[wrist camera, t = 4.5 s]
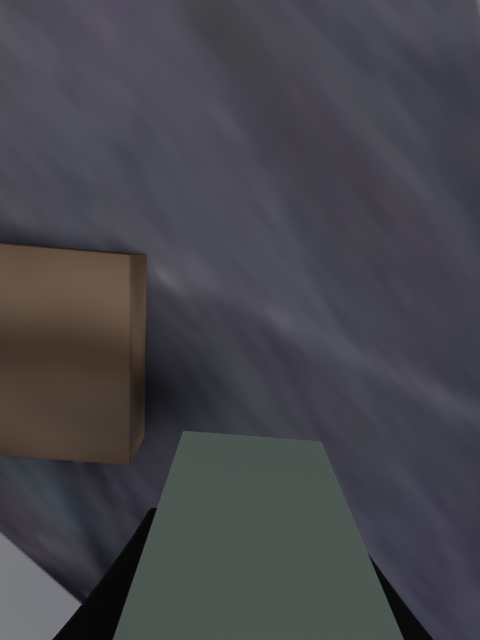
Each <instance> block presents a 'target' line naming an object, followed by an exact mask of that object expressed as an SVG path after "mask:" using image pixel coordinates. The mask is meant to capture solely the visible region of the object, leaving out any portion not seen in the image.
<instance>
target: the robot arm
mask: <svg viewBox="0 0 480 640" xmlns="http://www.w3.org/2000/svg"><path fill="white" fill-rule="evenodd" d="M156 510H157V508H151V509H150V510H149V511H148V512H147V514H146V516H145V518H144V519H143V521H142V522H141V524H140V526H139V527H138V529H137V530H136V532H135V533H134V535H133V536H132V538H131V539H130V541H129V542H128V544H127V545H126V546H125V548H124V549H123V551H122V552H121V554H120V555H119V556H118V558H117V559H116V560H115V562H114V563H113V565H112V566H111V567H110V569H109V570H108V571H107V573H106V574H105V576H104V577H103V578H102V579H101V581H100V582H99V583H98V585H97V586H96V587H95V588H94V590H93V591H92V592H91V593H90V595H89V596H88V597H87V598H86V600H85V601H84V602H83V604H82V605H81V606H80V607H79V609H78V610H77V611H76V612H75V614H74V615H73V616H72V617H71V618H70V620H69V621H68V622H67V623H66V624H65V626H64V627H63V628H62V629H61V630H60V631H59V633H58V634H57V635H56V636H55V637H54V639H52V640H113V638H114V635H115V632H116V629H117V626H118V623H119V620H120V617H121V614H122V611H123V608H124V605H125V602H126V599H127V596H128V593H129V590H130V588H131V585H132V582H133V579H134V576H135V573H136V570H137V567H138V564H139V561H140V558H141V555H142V552H143V549H144V546H145V543H146V540H147V537H148V534H149V531H150V528H151V525H152V522H153V519H154V516H155V513H156ZM368 555H369V554H368ZM369 558H370V560H371V562H372V565H373V567H374V570H375V572H376V574H377V577H378V579H379V582H380V584H381V586H382V589H383V591H384V594H385V596H386V598H387V601H388V603H389V606H390V608H391V610H392V613H393V615H394V617H395V620H396V622H397V625H398V627H399V629H400V632H401V634H402V637H403V639H404V640H433V639H432V637H431V636H430V635H429V634H428V632H427V631H426V630H425V629H424V627H423V626H422V625H421V624H420V622H419V621H418V620H417V619H416V617H415V616H414V615H413V613H412V612H411V611H410V610H409V608H408V607H407V606H406V604H405V603H404V602H403V600H402V599H401V598H400V596H399V595H398V594H397V592H396V591H395V590H394V588H393V587H392V586H391V584H390V583H389V582H388V580H387V579H386V578H385V576H384V575H383V574H382V572H381V571H380V569H379V568H378V567H377V565H376V564H375V562H374V561H373V560H372V558H371V557H370V555H369Z"/></svg>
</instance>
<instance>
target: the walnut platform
mask: <svg viewBox="0 0 480 640" xmlns="http://www.w3.org/2000/svg"><path fill="white" fill-rule="evenodd" d="M146 283H147V255H142V254H130V253H118V252H106V251H94V250H82V249H70V248H58V247H46V246H34V245H22V244H10V243H0V455H4V456H17V457H30V458H43V459H56V460H69V461H82V462H95V463H108V464H121V465H130V463H131V461H132V459H133V458H134V456H135V454H136V452H137V450H138V448H139V446H140V445H141V443H142V441H143V439H144V437H145V365H146Z"/></svg>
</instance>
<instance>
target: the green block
mask: <svg viewBox="0 0 480 640" xmlns="http://www.w3.org/2000/svg"><path fill="white" fill-rule="evenodd" d="M113 640H404V639H403V637H402V634H401V632H400V629H399V627H398V625H397V622H396V620H395V617H394V615H393V613H392V610H391V608H390V606H389V603H388V601H387V598H386V596H385V594H384V591H383V589H382V586H381V584H380V582H379V579H378V577H377V574H376V572H375V570H374V567H373V565H372V562H371V560H370V558H369V555H368V553H367V550H366V548H365V546H364V543H363V541H362V539H361V536H360V534H359V531H358V529H357V527H356V524H355V522H354V519H353V517H352V515H351V512H350V510H349V507H348V505H347V503H346V500H345V498H344V495H343V493H342V491H341V488H340V486H339V483H338V481H337V479H336V476H335V474H334V472H333V469H332V467H331V464H330V462H329V460H328V457H327V455H326V452H325V450H324V448H323V445H322V443H321V442H319V441H306V440H294V439H281V438H268V437H255V436H243V435H230V434H217V433H204V432H191V431H183V433H182V436H181V439H180V442H179V445H178V448H177V451H176V454H175V457H174V460H173V463H172V466H171V469H170V472H169V475H168V478H167V481H166V483H165V486H164V489H163V492H162V495H161V498H160V501H159V504H158V507H157V510H156V513H155V516H154V519H153V522H152V525H151V528H150V531H149V534H148V537H147V540H146V543H145V546H144V549H143V552H142V555H141V558H140V561H139V564H138V567H137V570H136V573H135V576H134V579H133V582H132V585H131V588H130V590H129V593H128V596H127V599H126V602H125V605H124V608H123V611H122V614H121V617H120V620H119V623H118V626H117V629H116V632H115V635H114V638H113Z"/></svg>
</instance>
